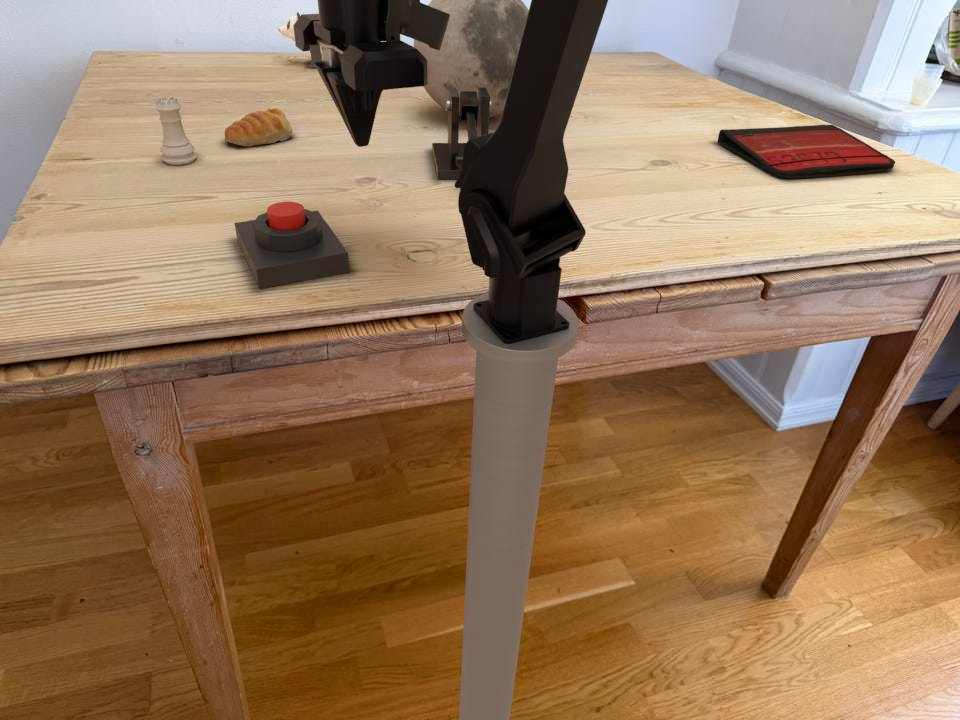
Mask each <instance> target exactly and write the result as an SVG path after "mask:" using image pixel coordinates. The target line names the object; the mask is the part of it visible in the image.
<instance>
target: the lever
mask: <svg viewBox="0 0 960 720" xmlns="http://www.w3.org/2000/svg"><path fill="white" fill-rule="evenodd" d="M478 107H479V105H478V98H477V92H476V91H460V101H459V109H460V116H459V118H460V120H461V121H465V125H466V133H467V141H468V140H470V139H473V138H476V137H478V136H477V116H478ZM462 164H463V156H456V166H462Z"/></svg>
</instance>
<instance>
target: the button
mask: <svg viewBox="0 0 960 720" xmlns="http://www.w3.org/2000/svg"><path fill="white" fill-rule="evenodd" d="M304 209H305V207H304V205H303V204H301V203H299V202H296V201H279V202H275V203H273V204H270V205H269V206H268V207H267V208H266V212H267V215H268V221H269V227H270V228H273V229H275V230H292V229H298V228H300V227H302V226H304V225H306V221H305V213H304Z"/></svg>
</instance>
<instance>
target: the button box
mask: <svg viewBox="0 0 960 720" xmlns="http://www.w3.org/2000/svg"><path fill="white" fill-rule="evenodd" d="M304 213H305V221H306V225H304V226H302V227H300V228H298V229H292V230H275V229H273V228H270V227H269V221H268V215H267V211H265V212H264V213H261V214H259V215H257V217H256V218H255V219H252V220H246V221H245V220H244V221H239V222H234V224H233V225H234V229H235V234H236V239H237V243H238V245H239V247H240V250H241V252H242V253H243V257H244V258H245V260H246V262H247V265H248V267H249V269H250V271H251V274H252V276H253V279H254V280H255V282H256V284H257V287H258V289H259V290H262V289H267V288H272V287H277V286H283V285H288V284H293V283H298V282H304V281H309V280H315V279H318V278H324V277H330V276H334V275H341V274H345V273H350V271H351V270H350V261H349V260H350V259H349V252H348V250H347V249H346V248H345V246H344V245H343V244H342V242H341V241H340V239H339V238H338V237H337V236H336V234H335V232H334V231H333V230H332V228H331V227H330V225H329V224H328V223H327V221H326V219H324V217H323V216H322V214H321V212H319V210H310V209H307V208H304Z"/></svg>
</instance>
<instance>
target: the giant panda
mask: <svg viewBox="0 0 960 720" xmlns="http://www.w3.org/2000/svg"><path fill="white" fill-rule="evenodd" d="M300 16H301V15H300V12H298V11H296V15H292V16H290V17H289V18H288V20H287V22H286V23H285V24H284V25H282V26H279V27H278V32H280V34H281V35H282V36H284V37H286V38H288V39H291V40H292V41H293V42H295V35H294V26H293V25H294V24H295V23H296V21H297V20H298V19H299V17H300ZM309 53H310V59H309V61H308V63H309V64H308V68H310V69H316V68H315V66H314V63H315V62H318V61H323V59H322V49H321V46H320V45H310V49H309Z"/></svg>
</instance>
